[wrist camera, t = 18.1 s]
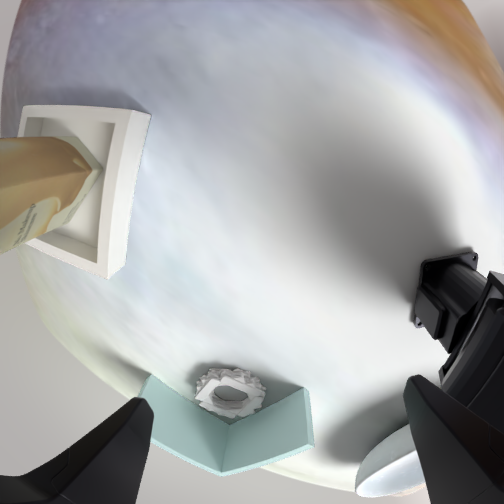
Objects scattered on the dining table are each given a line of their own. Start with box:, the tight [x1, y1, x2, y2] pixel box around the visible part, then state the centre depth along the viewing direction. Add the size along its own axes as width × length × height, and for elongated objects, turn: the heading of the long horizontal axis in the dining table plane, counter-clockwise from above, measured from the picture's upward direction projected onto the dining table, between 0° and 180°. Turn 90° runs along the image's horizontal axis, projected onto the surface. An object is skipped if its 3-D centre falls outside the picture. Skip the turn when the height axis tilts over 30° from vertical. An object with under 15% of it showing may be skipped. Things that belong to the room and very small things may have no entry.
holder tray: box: [18, 105, 151, 280], centre depth 17 cm, size 12×12×3 cm
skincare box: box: [0, 136, 103, 255], centre depth 12 cm, size 6×4×12 cm
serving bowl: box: [355, 424, 425, 497], centre depth 25 cm, size 21×21×7 cm
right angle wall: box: [138, 368, 315, 477], centre depth 22 cm, size 12×12×8 cm
